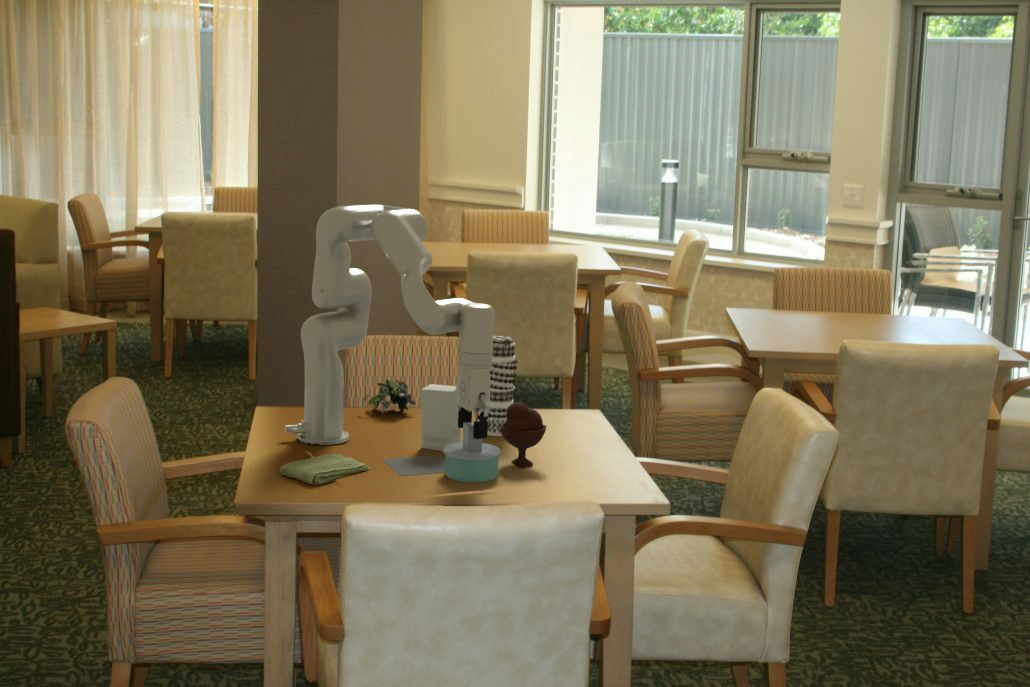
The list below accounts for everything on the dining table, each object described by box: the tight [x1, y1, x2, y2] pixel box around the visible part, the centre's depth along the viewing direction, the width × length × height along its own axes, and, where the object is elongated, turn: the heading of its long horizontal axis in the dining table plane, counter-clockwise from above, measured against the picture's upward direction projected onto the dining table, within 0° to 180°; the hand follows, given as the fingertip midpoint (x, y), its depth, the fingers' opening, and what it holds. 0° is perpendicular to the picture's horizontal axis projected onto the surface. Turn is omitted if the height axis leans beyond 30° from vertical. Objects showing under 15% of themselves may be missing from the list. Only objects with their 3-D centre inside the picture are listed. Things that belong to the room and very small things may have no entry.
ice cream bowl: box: [500, 401, 547, 469], centre depth 297 cm, size 11×11×15 cm
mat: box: [381, 454, 446, 477], centre depth 293 cm, size 14×14×1 cm
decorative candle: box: [487, 335, 518, 437], centre depth 326 cm, size 9×9×25 cm
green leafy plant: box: [363, 378, 417, 416], centre depth 343 cm, size 11×11×12 cm
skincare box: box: [420, 383, 461, 452], centre depth 308 cm, size 8×7×16 cm
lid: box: [442, 421, 502, 461], centre depth 286 cm, size 13×13×7 cm
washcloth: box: [279, 453, 371, 485], centre depth 285 cm, size 13×18×3 cm
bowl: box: [444, 455, 500, 483], centre depth 287 cm, size 12×12×6 cm
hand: (472, 432), depth 286 cm, fingers open, 9 cm apart
